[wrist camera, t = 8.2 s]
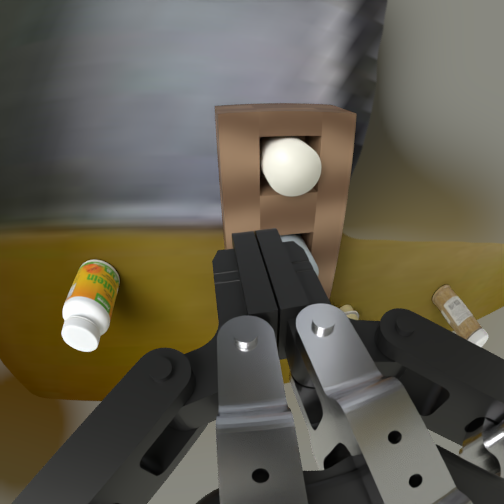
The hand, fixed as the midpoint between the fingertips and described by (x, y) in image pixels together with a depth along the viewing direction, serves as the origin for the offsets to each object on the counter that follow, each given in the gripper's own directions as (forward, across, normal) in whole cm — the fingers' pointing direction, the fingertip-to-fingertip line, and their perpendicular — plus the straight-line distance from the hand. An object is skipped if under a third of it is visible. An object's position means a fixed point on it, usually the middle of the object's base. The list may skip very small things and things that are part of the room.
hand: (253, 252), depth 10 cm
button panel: (+18, -5, +11) cm, 22 cm away
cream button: (+17, -5, +2) cm, 18 cm away
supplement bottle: (+18, +16, +14) cm, 28 cm away
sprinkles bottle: (+18, -37, +28) cm, 50 cm away
